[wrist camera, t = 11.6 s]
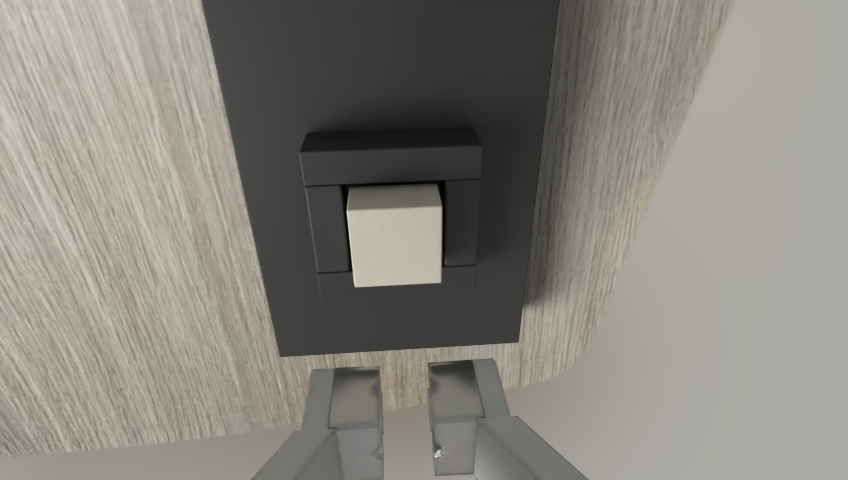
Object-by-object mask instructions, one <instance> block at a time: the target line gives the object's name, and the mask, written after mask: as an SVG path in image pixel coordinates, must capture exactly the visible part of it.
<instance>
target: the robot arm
mask: <svg viewBox="0 0 848 480" xmlns="http://www.w3.org/2000/svg"><path fill="white" fill-rule="evenodd" d="M428 383H429V388H428V409H429V421H430V431H431V432H432V452H433V461H434V470H435V476H448V475H469V474H474V477H475V478H476V480H588V479H587V478H586V477H585V476H584V475H583V474H582V473H581V472H580V471H578V470H577V469H576V468H575V467H574V466H573V465H572V464H571V463H569V462H568V461H567V460H566V459H565V458H564V457H563V456H562V455H560V454H559V453H558V452H557V451H556V450H555V449H554V448H553V447H551V446H550V445H549V444H548V443H547V442H546V441H545V440H544V439H543V438H541V437H540V436H539V435H538V434H537V433H536V432H535V431H534V430H533V429H531V428H530V427H529V426H528V425H527V424H526V423H525V422H523V421H522V420H521V419H520V418H519V417H518V416H510V412H509V409H508V405H507V401H506V398H505V394H504V390H503V387H502V383H501V380H500V376H499V372H498V369H497V365H496V362H495V360H494V359H493V358H489V359H475V360H461V361H447V362H434V363H428ZM383 428H384V427H383V399H382V392H381V374H380V366H375V367H348V368H334V369H313V370H312V372H311V375H310V380H309V386H308V392H307V398H306V404H305V411H304V417H303V423H302V429H301V431H294V432H293V433H292V434H291V436H290V437H289V438H288V439H287V440H286V441H285V442H284V443H283V445H282V446H281V447H280V448H279V449H278V450H277V451H276V452H275V453H274V454H273V456H272V457H271V458H270V459H269V460H268V461H267V462H266V463H265V465H264V466H263V467H262V468H261V469H260V470H259V471H258V472H257V473H256V475H255V476H254V477H253V478H252V479H251V480H384V449H383V434H384V430H383Z"/></svg>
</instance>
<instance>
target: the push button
mask: <svg viewBox="0 0 848 480" xmlns="http://www.w3.org/2000/svg"><path fill="white" fill-rule="evenodd" d="M347 220H348V229H349V239H350V249H351V259H352V268H353V278H354V286H355V287H371V286H390V285H408V284H427V283H441V281H442V203H441V199H440V195H439V190H438V186H437V184H411V185H387V186H363V187H350V188H349V196H348V204H347Z"/></svg>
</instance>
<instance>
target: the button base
mask: <svg viewBox="0 0 848 480" xmlns="http://www.w3.org/2000/svg"><path fill="white" fill-rule="evenodd" d="M201 1H202V5H203V10H204V14H205V19H206V24H207V28H208V33H209V37H210V42H211V46H212V51H213V55H214V60H215V64H216V69H217V73H218V78H219V83H220V87H221V92H222V96H223V101H224V105H225V110H226V114H227V119H228V123H229V128H230V133H231V137H232V142H233V146H234V151H235V155H236V160H237V164H238V169H239V173H240V178H241V183H242V187H243V192H244V196H245V201H246V205H247V210H248V214H249V219H250V223H251V228H252V233H253V237H254V242H255V246H256V251H257V255H258V260H259V264H260V269H261V273H262V278H263V283H264V287H265V292H266V296H267V301H268V305H269V310H270V314H271V319H272V323H273V328H274V333H275V337H276V342H277V346H278V351H279V355H280V357H288V356H305V355H321V354H337V353H354V352H370V351H387V350H403V349H419V348H436V347H452V346H469V345H485V344H502V343H517V342H518V341H519V333H520V325H521V316H522V308H523V300H524V291H525V283H526V275H527V266H528V258H529V250H530V241H531V233H532V225H533V216H534V208H535V200H536V191H537V183H538V175H539V166H540V158H541V150H542V141H543V133H544V125H545V116H546V108H547V100H548V91H549V83H550V75H551V67H552V58H553V50H554V42H555V33H556V25H557V17H558V8H559V0H201ZM411 184H437V186H438V190H439V195H440V199H441V203H442V281H441V283H427V284H408V285H390V286H371V287H355V286H354V278H353V268H352V259H351V249H350V239H349V229H348V220H347V204H348V196H349V188H350V187H363V186H387V185H411Z"/></svg>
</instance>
